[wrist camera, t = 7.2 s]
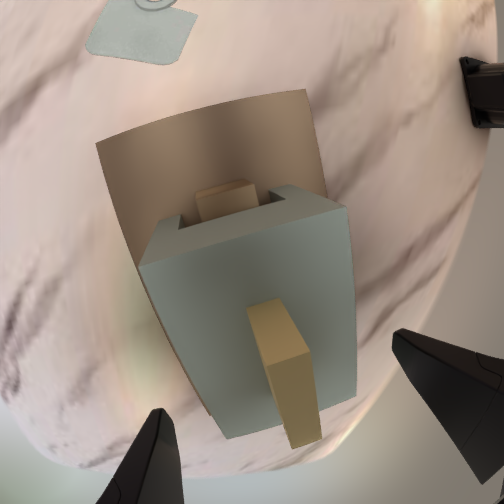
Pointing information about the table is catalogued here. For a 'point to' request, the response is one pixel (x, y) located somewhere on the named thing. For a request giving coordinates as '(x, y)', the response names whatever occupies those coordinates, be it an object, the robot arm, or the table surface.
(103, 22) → the mounting bracket
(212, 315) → the cabinet block
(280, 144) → the cleat board
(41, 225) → the table surface
